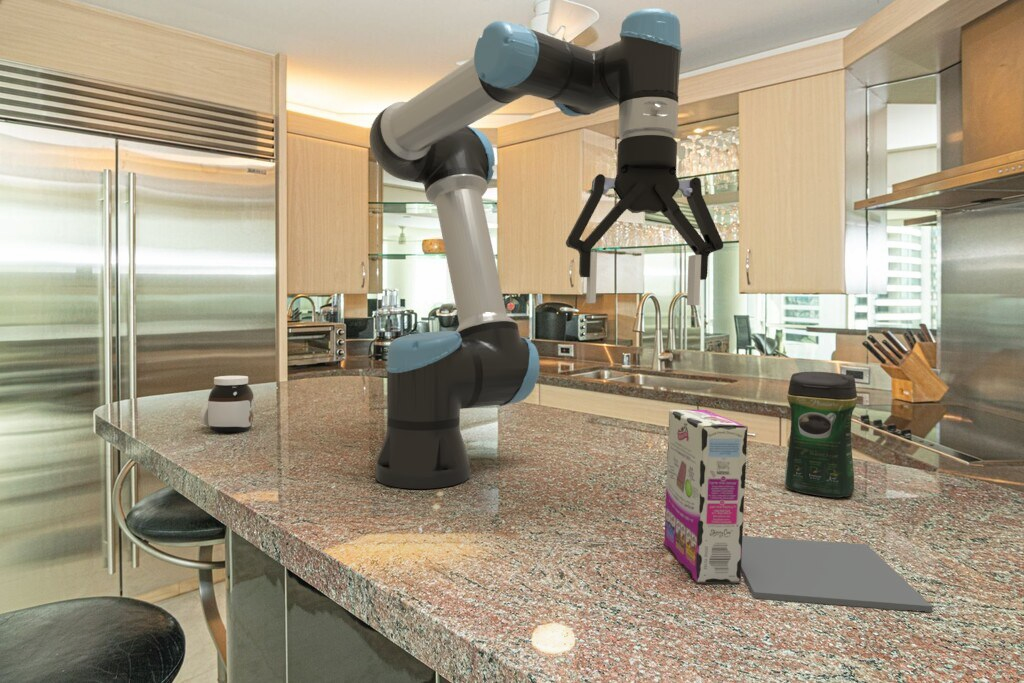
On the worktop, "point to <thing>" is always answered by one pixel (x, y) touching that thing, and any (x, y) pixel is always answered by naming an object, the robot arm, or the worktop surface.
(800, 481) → the coffee jar
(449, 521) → the worktop surface
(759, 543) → the mat
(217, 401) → the spread jar
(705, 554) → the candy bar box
